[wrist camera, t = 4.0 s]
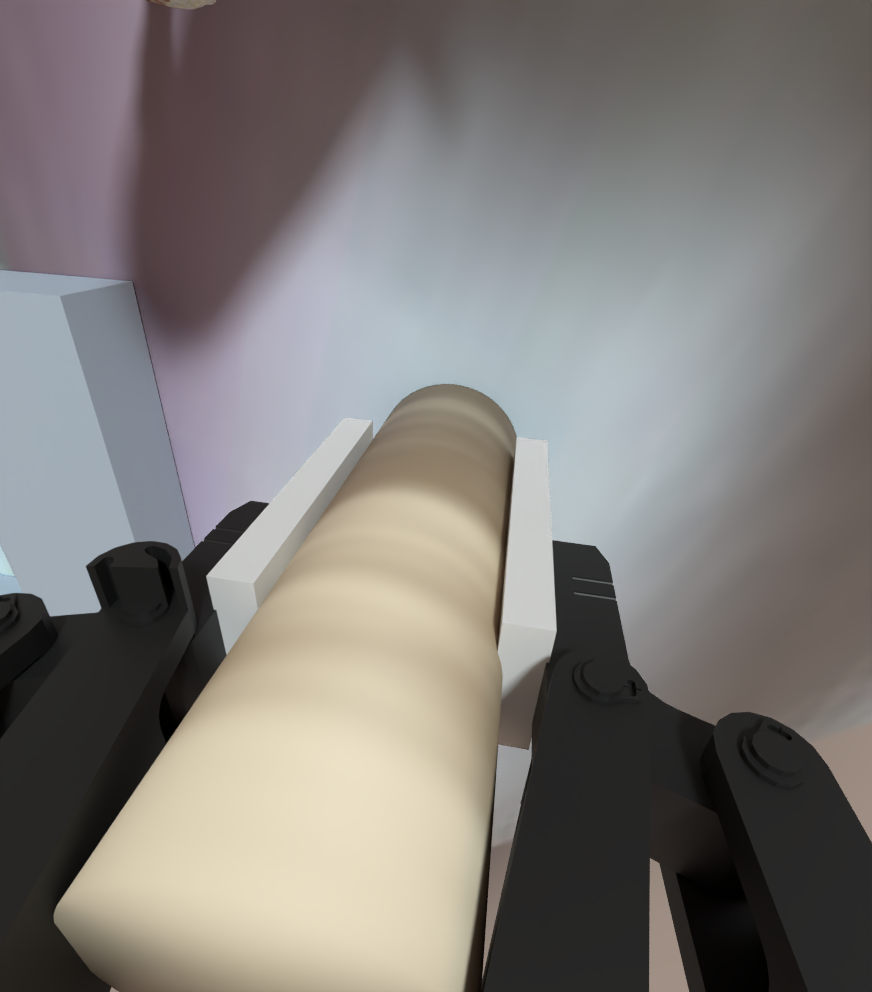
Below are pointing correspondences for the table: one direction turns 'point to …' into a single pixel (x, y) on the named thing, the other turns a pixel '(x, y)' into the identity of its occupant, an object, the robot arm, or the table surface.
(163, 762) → the peg
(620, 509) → the table surface
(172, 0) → the bull figurine
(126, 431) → the socket board
